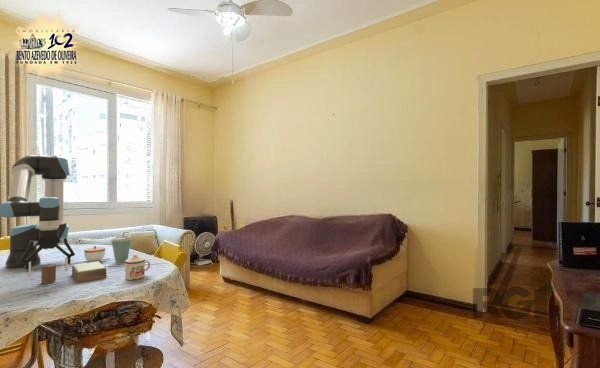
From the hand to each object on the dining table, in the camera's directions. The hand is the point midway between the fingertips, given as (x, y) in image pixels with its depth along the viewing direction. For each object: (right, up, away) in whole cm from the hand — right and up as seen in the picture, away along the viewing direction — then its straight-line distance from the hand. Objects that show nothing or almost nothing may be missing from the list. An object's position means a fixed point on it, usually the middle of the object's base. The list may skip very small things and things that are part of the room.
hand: (48, 273), depth 146 cm
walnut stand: (+12, -4, +10) cm, 17 cm away
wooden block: (0, -4, 0) cm, 4 cm away
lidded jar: (-5, -5, +40) cm, 41 cm away
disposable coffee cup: (+11, -5, +41) cm, 43 cm away
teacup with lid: (+38, -5, +9) cm, 40 cm away
